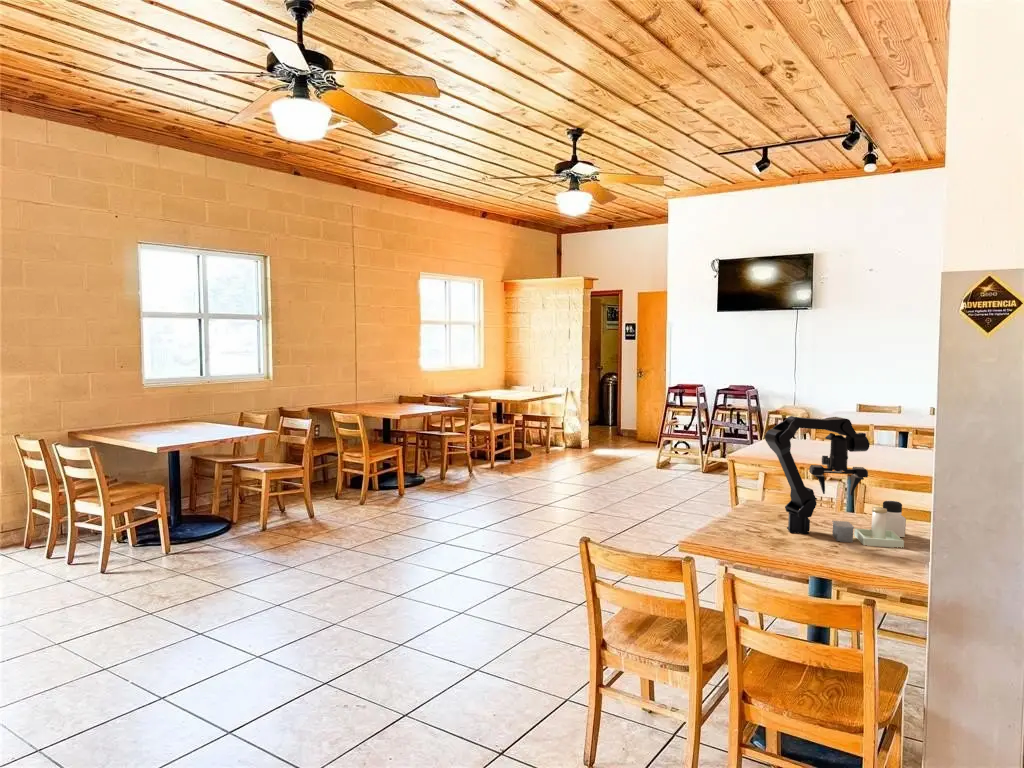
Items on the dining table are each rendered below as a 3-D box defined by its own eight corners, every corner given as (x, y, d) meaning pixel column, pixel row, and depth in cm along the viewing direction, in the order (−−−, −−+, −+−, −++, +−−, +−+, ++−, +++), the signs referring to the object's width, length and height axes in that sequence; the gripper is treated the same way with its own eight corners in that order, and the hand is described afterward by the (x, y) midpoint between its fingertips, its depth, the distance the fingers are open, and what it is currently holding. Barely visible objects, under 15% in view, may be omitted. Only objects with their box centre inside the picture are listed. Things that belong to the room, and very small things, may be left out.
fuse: (877, 542, 243) (878, 510, 242) (867, 538, 248) (868, 507, 247) (888, 541, 244) (890, 509, 244) (879, 537, 249) (880, 506, 248)
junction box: (836, 541, 245) (837, 526, 245) (830, 534, 254) (831, 519, 254) (853, 542, 244) (854, 527, 244) (846, 535, 253) (847, 520, 253)
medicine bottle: (905, 538, 251) (906, 504, 250) (883, 536, 252) (884, 503, 251) (898, 532, 258) (900, 499, 257) (877, 531, 259) (878, 498, 258)
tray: (863, 545, 241) (864, 538, 241) (854, 535, 253) (854, 528, 253) (903, 548, 239) (904, 540, 239) (892, 537, 251) (892, 530, 251)
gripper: (860, 449, 264) (859, 491, 265) (807, 447, 268) (805, 488, 269) (869, 454, 253) (867, 497, 255) (813, 452, 257) (811, 494, 259)
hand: (837, 494), depth 260 cm, fingers open, 9 cm apart
